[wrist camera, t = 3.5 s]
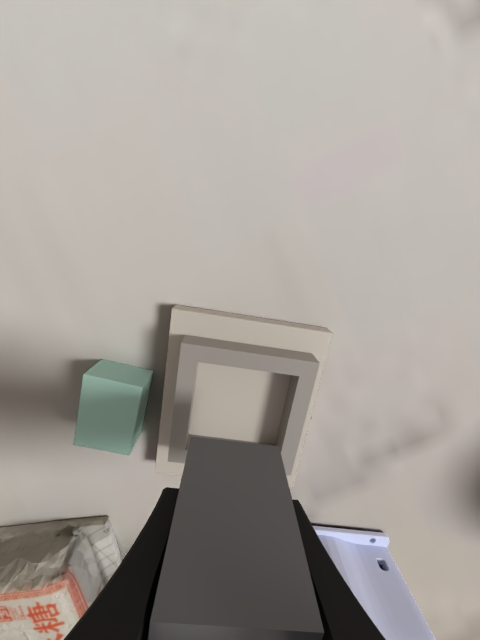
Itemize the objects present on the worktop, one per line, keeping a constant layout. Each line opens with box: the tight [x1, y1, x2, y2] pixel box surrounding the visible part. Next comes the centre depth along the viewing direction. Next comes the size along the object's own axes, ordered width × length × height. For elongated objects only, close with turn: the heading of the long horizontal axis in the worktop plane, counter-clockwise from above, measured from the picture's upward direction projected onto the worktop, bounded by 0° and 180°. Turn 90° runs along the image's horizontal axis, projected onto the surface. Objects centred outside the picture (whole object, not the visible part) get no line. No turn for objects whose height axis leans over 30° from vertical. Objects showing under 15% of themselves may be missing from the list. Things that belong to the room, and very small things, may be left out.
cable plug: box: [74, 359, 154, 455], centre depth 17 cm, size 4×6×2 cm, turn 165°
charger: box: [148, 437, 324, 640], centre depth 9 cm, size 4×4×6 cm
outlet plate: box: [155, 305, 333, 488], centre depth 17 cm, size 10×12×3 cm
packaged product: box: [0, 516, 122, 640], centre depth 21 cm, size 18×5×10 cm
